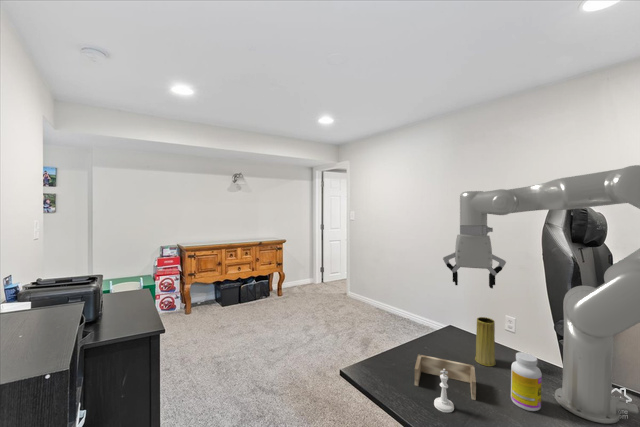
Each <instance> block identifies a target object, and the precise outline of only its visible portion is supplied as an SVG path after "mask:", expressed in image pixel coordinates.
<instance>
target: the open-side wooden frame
mask: <svg viewBox="0 0 640 427" xmlns="http://www.w3.org/2000/svg"><path fill="white" fill-rule="evenodd" d="M443 369H445V371H447V372H448V374H445V375H447V376H448V379H451V380H455V381H461V382H464V383H470V394H471V400H472V401H473V400H474V401H476V397H477V381H476V380H477V378H476V371H475V365H473V364H469V363H464V362H459V361H453V360H448V359H444V358H439V357H434V356H430V355H429V356H427V355H423V354H420V353H419V354H417V357H416V361H415V366H414V386H416V387H419V383H420V378H421V374H422V373H425V374H429V375H433V376H438V377H440V375H441V374H443V373H441V371H443Z"/></svg>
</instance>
